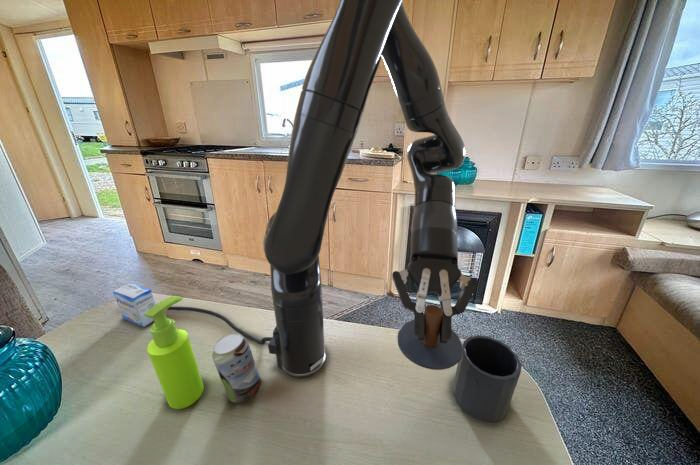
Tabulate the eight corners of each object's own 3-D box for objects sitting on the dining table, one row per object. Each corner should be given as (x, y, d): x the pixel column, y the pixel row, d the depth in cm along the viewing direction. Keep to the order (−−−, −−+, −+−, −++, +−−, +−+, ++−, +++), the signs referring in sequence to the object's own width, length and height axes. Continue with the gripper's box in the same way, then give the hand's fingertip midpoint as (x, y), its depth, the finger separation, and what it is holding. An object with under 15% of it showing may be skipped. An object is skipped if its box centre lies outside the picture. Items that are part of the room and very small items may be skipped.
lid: (396, 367, 41) (399, 329, 38) (397, 320, 50) (400, 287, 47) (467, 377, 39) (476, 339, 36) (455, 327, 48) (462, 293, 45)
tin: (457, 417, 48) (467, 374, 44) (449, 372, 56) (457, 332, 52) (514, 426, 47) (530, 383, 42) (497, 379, 55) (510, 339, 51)
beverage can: (251, 410, 49) (241, 361, 44) (215, 402, 50) (200, 353, 46) (268, 379, 55) (260, 332, 50) (234, 373, 56) (224, 327, 51)
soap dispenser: (214, 380, 55) (191, 297, 46) (185, 413, 49) (152, 325, 40) (191, 372, 56) (165, 290, 48) (160, 403, 50) (124, 316, 42)
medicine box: (123, 319, 70) (111, 291, 67) (140, 308, 74) (130, 281, 71) (143, 327, 68) (132, 299, 64) (161, 316, 72) (151, 288, 68)
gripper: (393, 222, 45) (384, 335, 39) (484, 228, 43) (490, 348, 37) (392, 238, 52) (385, 336, 46) (470, 243, 50) (474, 347, 44)
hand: (432, 340), depth 41 cm, fingers closed on lid, 2 cm apart
